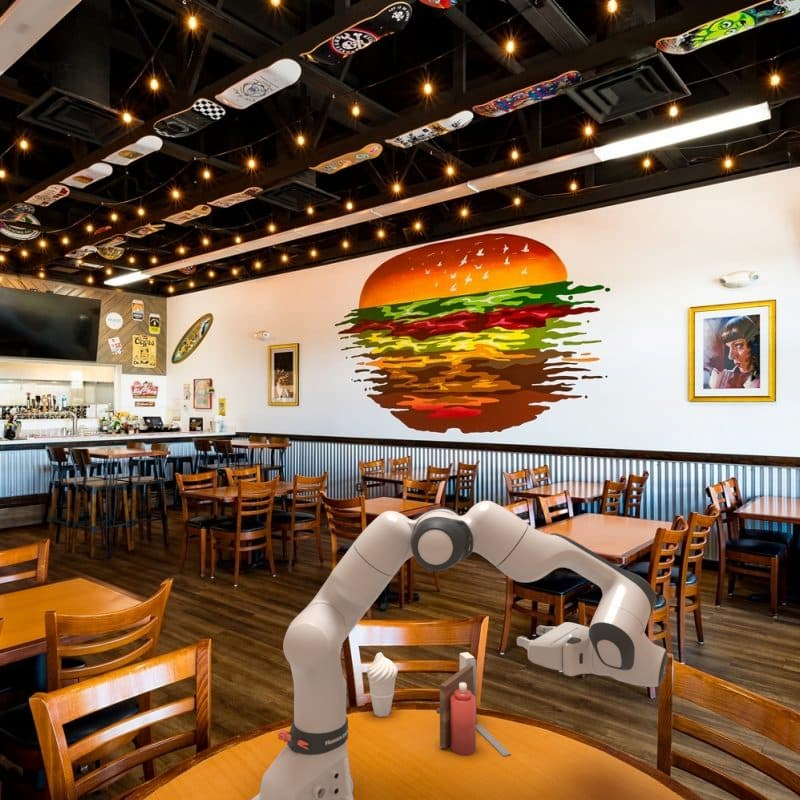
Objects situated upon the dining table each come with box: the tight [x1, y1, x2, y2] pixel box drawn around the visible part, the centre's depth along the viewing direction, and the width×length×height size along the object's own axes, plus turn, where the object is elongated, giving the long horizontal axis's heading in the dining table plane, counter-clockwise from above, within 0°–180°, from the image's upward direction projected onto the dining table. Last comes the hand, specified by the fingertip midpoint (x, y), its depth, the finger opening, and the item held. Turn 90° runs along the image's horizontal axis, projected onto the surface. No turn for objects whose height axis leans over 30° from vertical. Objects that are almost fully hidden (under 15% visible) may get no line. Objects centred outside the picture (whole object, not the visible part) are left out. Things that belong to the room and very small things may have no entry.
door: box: [436, 665, 473, 749], centre depth 152 cm, size 3×15×14 cm, turn 147°
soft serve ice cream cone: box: [366, 652, 399, 718], centre depth 163 cm, size 8×8×16 cm
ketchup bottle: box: [450, 682, 477, 756], centre depth 146 cm, size 6×6×15 cm
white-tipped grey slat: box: [459, 651, 512, 757], centre depth 153 cm, size 2×22×16 cm, turn 21°
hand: (528, 634), depth 139 cm, fingers open, 8 cm apart
